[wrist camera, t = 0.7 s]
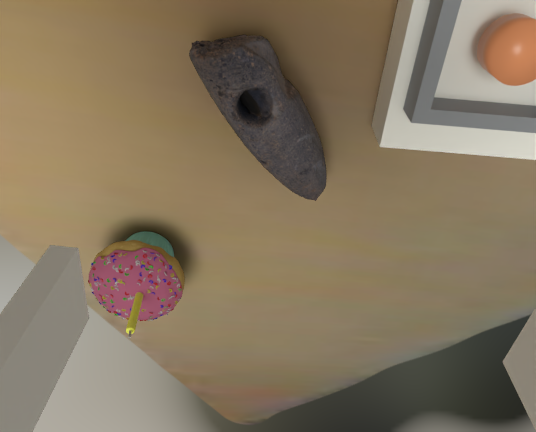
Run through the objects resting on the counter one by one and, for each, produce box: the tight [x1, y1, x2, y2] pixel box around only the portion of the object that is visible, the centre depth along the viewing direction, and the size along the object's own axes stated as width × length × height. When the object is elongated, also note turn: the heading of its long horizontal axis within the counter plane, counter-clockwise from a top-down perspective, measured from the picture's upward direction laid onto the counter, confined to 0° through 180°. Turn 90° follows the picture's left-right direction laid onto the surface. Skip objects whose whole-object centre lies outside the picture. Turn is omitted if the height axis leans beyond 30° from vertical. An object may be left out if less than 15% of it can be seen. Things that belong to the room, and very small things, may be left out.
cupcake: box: [88, 231, 185, 339], centre depth 40 cm, size 9×8×12 cm
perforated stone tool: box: [189, 35, 326, 201], centre depth 33 cm, size 15×5×7 cm, turn 30°
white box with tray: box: [371, 0, 536, 160], centre depth 29 cm, size 16×12×6 cm
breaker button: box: [477, 13, 536, 86], centre depth 27 cm, size 4×4×2 cm
